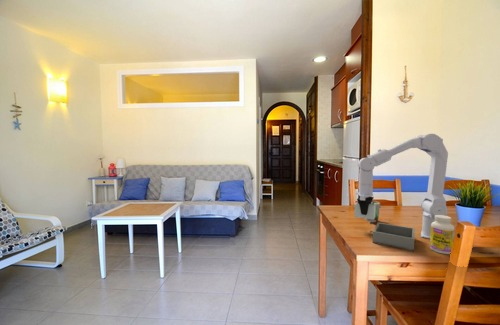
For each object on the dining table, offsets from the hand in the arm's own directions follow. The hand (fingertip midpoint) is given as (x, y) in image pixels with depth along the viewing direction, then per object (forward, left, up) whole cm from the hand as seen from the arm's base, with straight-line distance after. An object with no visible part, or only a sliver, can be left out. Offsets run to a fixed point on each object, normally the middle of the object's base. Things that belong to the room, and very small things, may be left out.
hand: (365, 213), depth 106 cm
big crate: (-12, +6, -8) cm, 16 cm away
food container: (-1, -19, -8) cm, 21 cm away
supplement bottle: (-27, +7, -8) cm, 29 cm away
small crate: (0, 0, -2) cm, 2 cm away
